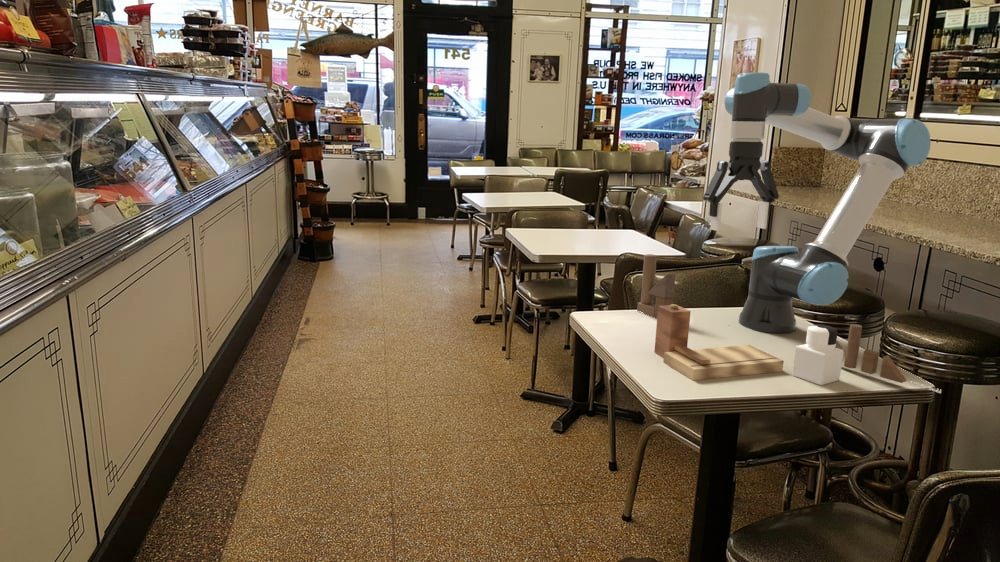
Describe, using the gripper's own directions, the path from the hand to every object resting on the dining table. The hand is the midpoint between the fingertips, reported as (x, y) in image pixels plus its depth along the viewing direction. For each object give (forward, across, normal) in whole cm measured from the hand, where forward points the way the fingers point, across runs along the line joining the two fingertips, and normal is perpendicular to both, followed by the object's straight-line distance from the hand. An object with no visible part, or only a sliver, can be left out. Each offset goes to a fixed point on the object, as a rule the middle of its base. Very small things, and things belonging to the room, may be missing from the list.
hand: (738, 229), depth 167 cm
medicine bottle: (+30, -5, +24) cm, 39 cm away
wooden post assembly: (+30, +4, -28) cm, 42 cm away
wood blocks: (+31, -21, +27) cm, 46 cm away
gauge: (+30, +19, +3) cm, 36 cm away
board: (+30, +11, +13) cm, 34 cm away
